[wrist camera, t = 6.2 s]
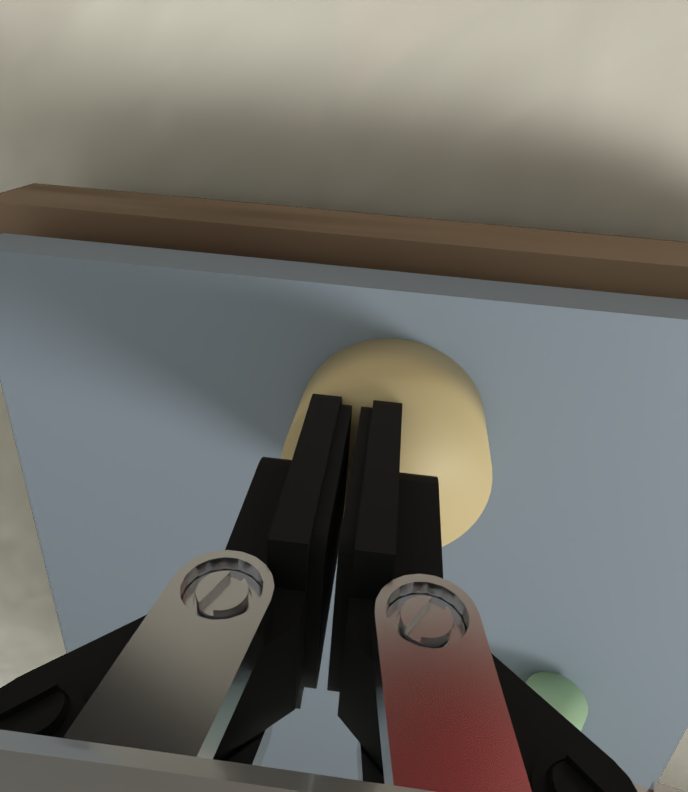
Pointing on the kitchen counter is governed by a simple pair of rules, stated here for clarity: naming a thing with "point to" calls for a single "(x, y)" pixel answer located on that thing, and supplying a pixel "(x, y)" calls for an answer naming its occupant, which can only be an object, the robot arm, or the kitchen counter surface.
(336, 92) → the kitchen counter surface
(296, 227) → the wooden board
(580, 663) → the plate
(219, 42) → the kitchen counter surface
